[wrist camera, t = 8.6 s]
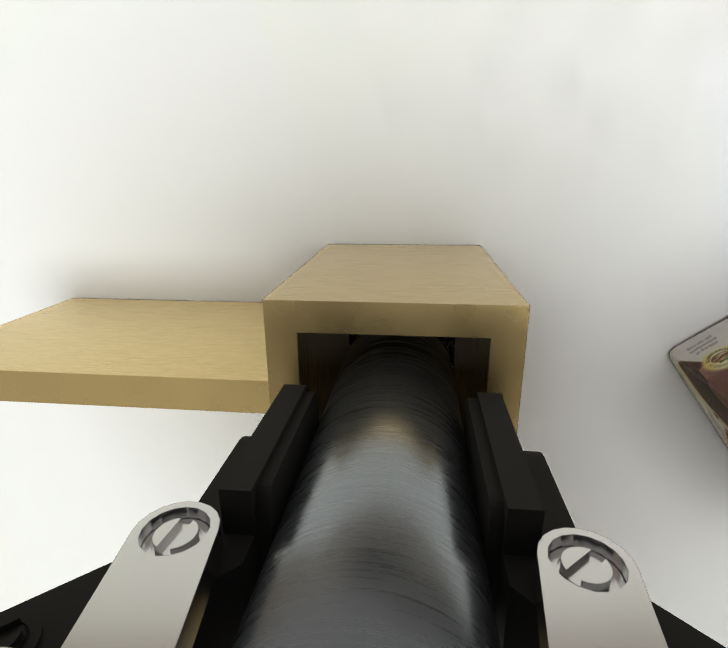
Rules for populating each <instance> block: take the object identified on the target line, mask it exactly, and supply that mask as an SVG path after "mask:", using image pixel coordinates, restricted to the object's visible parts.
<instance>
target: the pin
mask: <svg viewBox="0 0 728 648" xmlns="http://www.w3.org/2000/svg"><path fill="white" fill-rule="evenodd" d="M231 648H501V646H500V640H499V635H498V629H497V623H496V617H495V612H494V606H493V600H492V594H491V588H490V583H489V577H488V571H487V565H486V560H485V554H484V548H483V542H482V536H481V531H480V525H479V519H478V513H477V507H476V502H475V496H474V490H473V484H472V479H471V473H470V467H469V461H468V455H467V450H466V444H465V438H464V432H463V426H462V421H461V415H460V409H459V403H458V398H457V392H456V386H455V380H454V374H453V369H452V363H451V359H450V356H449V353H448V351H447V349H446V347H445V346H444V344H443V343H442V342H441V341H440V339H439V338H438V337H434V336H400V335H366V334H360V335H358V337H357V338H356V339H355V340H354V341H353V343H352V344H351V345H350V347H349V349H348V351H347V354H346V356H345V359H344V361H343V364H342V366H341V369H340V371H339V374H338V377H337V379H336V382H335V384H334V387H333V389H332V392H331V394H330V397H329V399H328V402H327V404H326V407H325V410H324V412H323V415H322V417H321V420H320V422H319V425H318V427H317V430H316V432H315V435H314V438H313V440H312V443H311V445H310V448H309V450H308V453H307V455H306V458H305V460H304V463H303V466H302V468H301V471H300V473H299V476H298V478H297V481H296V483H295V486H294V488H293V491H292V494H291V496H290V499H289V501H288V504H287V506H286V509H285V511H284V514H283V516H282V519H281V521H280V524H279V527H278V529H277V532H276V534H275V537H274V539H273V542H272V544H271V547H270V549H269V552H268V555H267V557H266V560H265V562H264V565H263V567H262V570H261V572H260V575H259V577H258V580H257V583H256V585H255V588H254V590H253V593H252V595H251V598H250V600H249V603H248V605H247V608H246V611H245V613H244V616H243V618H242V621H241V623H240V626H239V628H238V631H237V633H236V636H235V639H234V641H233V644H232V646H231Z"/></svg>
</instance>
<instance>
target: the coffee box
mask: <svg viewBox="0 0 728 648" xmlns="http://www.w3.org/2000/svg"><path fill="white" fill-rule="evenodd" d="M670 359H671V361H672V362H673V364H674V366H675V367H676V369H677V370H678V372H679V374H680V375H681V377H682V378H683V380H684V382H685V383H686V385H687V386H688V388H689V389H690V391H691V392H692V394H693V396H694V397H695V399H696V400H697V402H698V403H699V405H700V406H701V408H702V409H703V411H704V412H705V414H706V415H707V417H708V419H709V420H710V422H711V423H712V425H713V426H714V428H715V429H716V431H717V432H718V434H719V436H720V437H721V439H722V440H723V442H724V444H725V445H726V447H727V448H728V318H727V319H725V320H723V321H721V322H719V323H718V324H716V325H714V326H712V327H710V328H708V329H707V330H705V331H703V332H701V333H700V334H698V335H696V336H694V337H692V338H691V339H689V340H687V341H685V342H683V343H682V344H680V345H678V346H677V347H675V348H674V349H672V351H671V352H670Z"/></svg>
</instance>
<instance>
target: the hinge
mask: <svg viewBox="0 0 728 648" xmlns="http://www.w3.org/2000/svg"><path fill="white" fill-rule="evenodd" d="M262 302H263V303H261V302H218V301H174V300H131V299H88V298H72V299H69V300H67V301H64V302H61V303H59V304H56V305H53V306H51V307H48V308H45V309H43V310H40V311H37V312H34V313H32V314H29V315H26V316H24V317H21V318H18V319H16V320H13V321H10V322H8V323H5V324H2V325H0V401H16V402H37V403H58V404H79V405H100V406H121V407H142V408H163V409H184V410H205V411H225V412H246V413H266V412H267V411H268V409H269V407H270V406H271V404H272V403H273V401H274V399H275V398H276V396H277V395H278V393H279V391H280V390H281V388H282V387H283V385H284V384H293V385H308V386H309V390H310V391H315V392H317V397H318V421H319V422H320V420H321V417H322V415H323V412H324V410H325V407H326V404H327V402H328V399H329V397H330V394H331V392H332V389H333V387H334V384H335V382H336V379H337V377H338V374H339V371H340V369H341V366H342V364H343V361H344V359H345V356H346V354H347V351H348V349H349V347H350V344H349V334H366V335H400V336H434V337H455V350H454V367H453V368H452V369H453V374H454V380H455V386H456V392H457V398H458V403H459V409H460V415H461V421H462V426H463V432H464V422H465V406H466V399H467V398H475V394H476V392H486V393H501V394H502V396H503V399H504V402H505V405H506V407H507V410H508V413H509V415H510V418H511V421H512V423H513V426H514V429H515V431H516V434H517V426H518V416H519V406H520V397H521V387H522V378H523V368H524V359H525V349H526V340H527V330H528V321H529V311H530V305H529V304H528V303H527V301H526V300H525V299H524V298H523V297H522V295H521V294H520V293H519V292H518V291H517V289H516V288H515V287H514V286H513V284H512V283H511V282H510V281H509V280H508V278H507V277H506V276H505V275H504V273H503V272H502V271H501V270H500V269H499V267H498V266H497V265H496V264H495V263H494V261H493V260H492V259H491V258H490V256H489V255H488V254H487V253H486V252H485V250H484V249H483V248H482V247H481V246H480V245H382V244H328V245H327V246H326V247H325V248H323V249H322V250H321V251H320V252H319V253H317V254H316V255H315V256H314V257H313V258H312V259H310V260H309V261H308V262H307V263H306V264H304V265H303V266H302V267H301V268H300V269H298V270H297V271H296V272H295V273H294V274H292V275H291V276H290V277H289V278H288V279H286V280H285V281H284V282H283V283H282V284H281V285H279V286H278V287H277V288H276V289H275V290H273V291H272V292H271V293H270V294H269V295H267V296H266V297H265V298H264V299H263V300H262Z"/></svg>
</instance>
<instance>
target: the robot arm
mask: <svg viewBox="0 0 728 648" xmlns="http://www.w3.org/2000/svg"><path fill="white" fill-rule="evenodd" d="M318 425H319V421H318V397H317V392H315V391H310V390H309V386H308V385H293V384H284V385H283V387H282V388H281V390H280V391H279V393H278V395H277V396H276V398H275V399H274V401H273V403H272V404H271V406H270V407H269V409H268V411H267V412H266V414H265V415H264V417H263V419H262V420H261V422H260V423H259V425H258V427H257V428H256V430H255V431H254V433H253V434H252V436H244V437H242V438H241V439H240V440H239V442H238V443H237V445H236V446H235V448H234V449H233V451H232V452H231V454H230V455H229V457H228V458H227V460H226V461H225V463H224V464H223V466H222V467H221V469H220V470H219V472H218V473H217V475H216V476H215V478H214V479H213V481H212V482H211V484H210V485H209V487H208V488H207V490H206V491H205V493H204V494H203V496H202V497H201V499H200V500H199V502H190V501H188V502H180V503H174V504H171V505H168V506H164V507H162V508H160V509H158V510H156V511H154V512H152V513H150V514H148V515H147V516H146V517H145V518H143V519H142V520H141V521H139V522H138V524H137V525H136V526H135V527H134V528H133V530H132V531H131V533H130V534H129V536H128V538H127V539H126V541H125V542H124V544H123V546H122V547H121V549H120V551H119V552H118V554H117V556H116V557H115V559H114V561H113V562H111V563H109V564H107V565H105V566H102V567H100V568H98V569H96V570H94V571H91V572H89V573H87V574H85V575H83V576H80V577H78V578H76V579H74V580H71V581H69V582H67V583H65V584H63V585H60V586H58V587H56V588H54V589H51V590H49V591H47V592H45V593H43V594H40V595H38V596H36V597H34V598H32V599H29V600H27V601H25V602H23V603H20V604H18V605H16V606H14V607H12V608H9V609H7V610H5V611H3V612H0V648H231V646H232V644H233V641H234V639H235V636H236V633H237V631H238V628H239V626H240V623H241V621H242V618H243V616H244V613H245V611H246V608H247V605H248V603H249V600H250V598H251V595H252V593H253V590H254V588H255V585H256V583H257V580H258V577H259V575H260V572H261V570H262V567H263V565H264V562H265V560H266V557H267V555H268V552H269V549H270V547H271V544H272V542H273V539H274V537H275V534H276V532H277V529H278V527H279V524H280V521H281V519H282V516H283V514H284V511H285V509H286V506H287V504H288V501H289V499H290V496H291V494H292V491H293V488H294V486H295V483H296V481H297V478H298V476H299V473H300V471H301V468H302V466H303V463H304V460H305V458H306V455H307V453H308V450H309V448H310V445H311V443H312V440H313V438H314V435H315V432H316V430H317V427H318ZM464 438H465V444H466V450H467V455H468V461H469V467H470V473H471V479H472V484H473V490H474V496H475V502H476V507H477V513H478V519H479V525H480V531H481V536H482V542H483V548H484V554H485V560H486V565H487V571H488V577H489V583H490V588H491V594H492V600H493V606H494V612H495V617H496V623H497V629H498V635H499V640H500V646H501V648H726V647H724V646H722V645H721V644H719V643H718V642H716V641H714V640H713V639H711V638H710V637H708V636H706V635H705V634H703V633H701V632H700V631H698V630H697V629H695V628H693V627H692V626H690V625H689V624H687V623H685V622H684V621H682V620H681V619H679V618H677V617H676V616H674V615H672V614H671V613H669V612H668V611H666V610H664V609H663V608H661V607H660V606H658V605H656V604H655V603H653V602H652V601H650V598H649V595H648V593H647V590H646V587H645V585H644V582H643V579H642V577H641V574H640V571H639V569H638V567H637V566H636V564H635V562H634V560H633V559H632V558H631V557H630V556H629V555H628V554H627V553H626V552H625V551H624V550H623V549H622V548H621V547H620V546H618V545H617V544H615V543H614V542H613V541H611V540H610V539H608V538H606V537H603V536H601V535H599V534H597V533H594V532H591V531H587V530H583V529H579V528H575V526H574V524H573V522H572V519H571V517H570V515H569V513H568V510H567V508H566V506H565V503H564V501H563V499H562V497H561V494H560V492H559V490H558V487H557V485H556V483H555V481H554V478H553V476H552V474H551V472H550V469H549V467H548V465H547V462H546V460H545V458H544V456H543V454H542V453H541V452H531V451H523V450H522V448H521V445H520V442H519V440H518V437H517V434H516V431H515V429H514V426H513V423H512V421H511V418H510V415H509V413H508V410H507V407H506V405H505V402H504V399H503V396H502V394H501V393H486V392H476V394H475V398H467V399H466V406H465V422H464Z"/></svg>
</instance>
